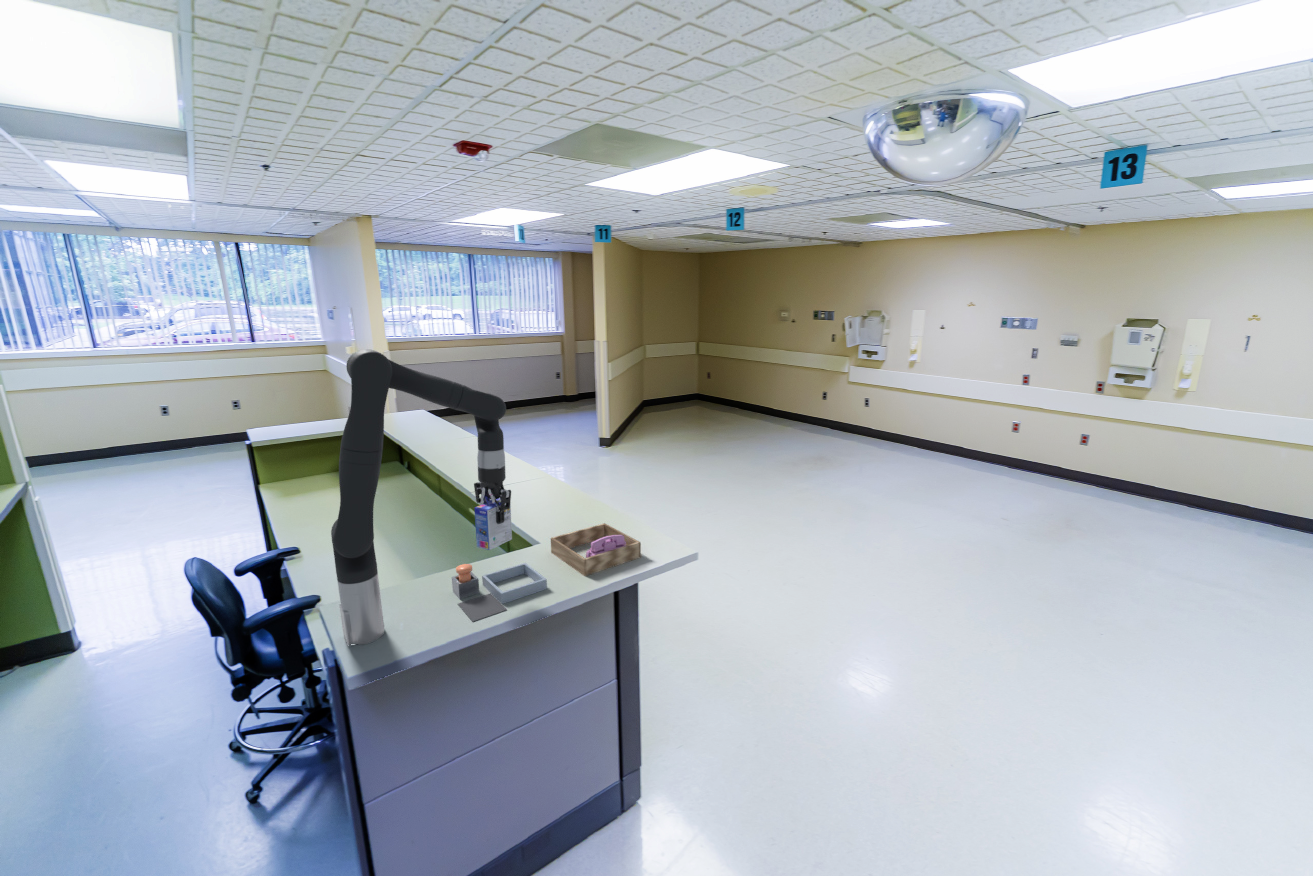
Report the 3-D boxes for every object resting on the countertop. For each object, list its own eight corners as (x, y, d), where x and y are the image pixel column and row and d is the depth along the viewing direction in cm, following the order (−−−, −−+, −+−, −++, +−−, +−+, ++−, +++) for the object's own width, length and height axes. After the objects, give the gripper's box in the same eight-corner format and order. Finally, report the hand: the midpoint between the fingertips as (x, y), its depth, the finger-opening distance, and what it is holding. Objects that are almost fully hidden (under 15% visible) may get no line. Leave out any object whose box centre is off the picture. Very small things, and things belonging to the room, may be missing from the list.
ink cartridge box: (498, 535, 168) (497, 490, 165) (512, 539, 166) (512, 493, 163) (474, 547, 159) (473, 498, 156) (489, 551, 157) (488, 502, 154)
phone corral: (584, 577, 179) (584, 559, 178) (551, 553, 196) (550, 537, 195) (640, 558, 193) (640, 542, 191) (604, 538, 210) (604, 523, 209)
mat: (472, 622, 153) (472, 621, 153) (457, 605, 162) (457, 603, 162) (507, 610, 159) (507, 609, 159) (490, 594, 168) (490, 593, 168)
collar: (501, 604, 162) (501, 593, 161) (482, 585, 173) (482, 575, 172) (547, 589, 171) (546, 579, 170) (526, 572, 182) (525, 562, 181)
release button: (461, 597, 166) (459, 572, 164) (455, 591, 169) (453, 566, 167) (476, 592, 168) (474, 568, 167) (470, 586, 172) (468, 562, 170)
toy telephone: (621, 555, 195) (621, 529, 193) (631, 562, 190) (630, 535, 188) (575, 568, 185) (574, 540, 183) (584, 575, 180) (583, 547, 178)
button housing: (459, 600, 165) (458, 584, 164) (452, 592, 169) (451, 577, 168) (479, 593, 168) (478, 578, 167) (472, 586, 173) (471, 571, 172)
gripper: (464, 462, 159) (466, 518, 162) (497, 471, 151) (498, 530, 154) (486, 457, 165) (488, 511, 168) (518, 466, 157) (520, 522, 160)
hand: (493, 520), depth 161 cm, fingers closed on ink cartridge box, 5 cm apart
